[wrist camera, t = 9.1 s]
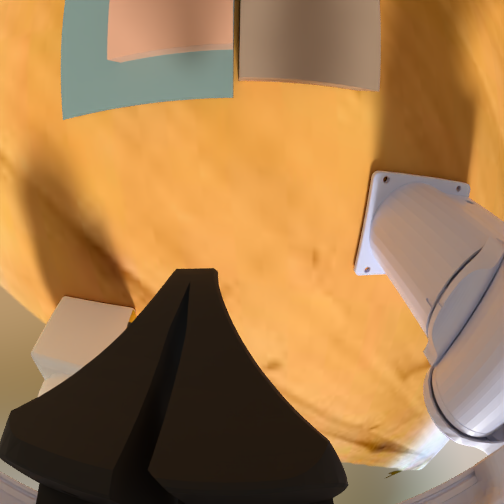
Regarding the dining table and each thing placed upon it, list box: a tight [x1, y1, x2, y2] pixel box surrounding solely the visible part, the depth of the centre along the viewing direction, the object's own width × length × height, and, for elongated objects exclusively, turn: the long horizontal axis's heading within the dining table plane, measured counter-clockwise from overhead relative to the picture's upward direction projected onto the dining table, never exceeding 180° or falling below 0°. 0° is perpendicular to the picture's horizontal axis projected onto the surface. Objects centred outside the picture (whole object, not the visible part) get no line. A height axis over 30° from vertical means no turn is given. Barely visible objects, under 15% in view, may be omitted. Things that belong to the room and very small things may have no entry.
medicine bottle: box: [31, 296, 136, 397], centre depth 18 cm, size 7×7×12 cm
